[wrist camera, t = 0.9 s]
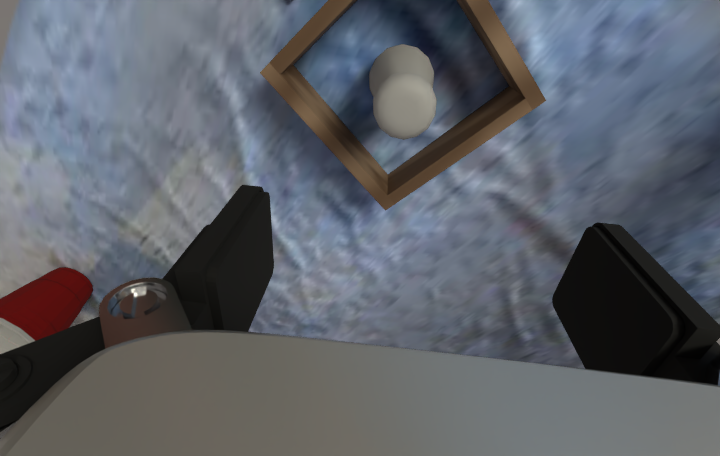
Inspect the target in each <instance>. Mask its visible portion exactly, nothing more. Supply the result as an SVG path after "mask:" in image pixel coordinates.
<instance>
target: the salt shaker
mask: <svg viewBox="0 0 720 456" xmlns="http://www.w3.org/2000/svg"><path fill="white" fill-rule="evenodd" d="M433 80H434V71H433V68H432V65H431V63H430V60H429V58H428V57H427V56H426V55H425V54H424V53H423V52H422V51H420V50H419V49H418V48H417V47H412V46H408V45H404V44H401V45H398V46H394V47H390V48H387V49H386V50H385V51H384V52H383V53H381V54H380V55H379V56H378V57H377V58H376V59H375V61H374V64H373V66H372V68H371V70H370V73H369V86H370V91H371V93H372V95H373V97H374V99H373V114H374V116H375V119H376V121H377V123H378V125H379V127H380V129H382V130H383V131H384V132H385V133H387V134H388V135H389V136H391V137H395V138H399V139H403V140H404V139H408V138H413V137H417V136H418V135H419V134H421V133H422V132H424V131H425V130H426V129H428V127H429V125H430V124H431V122H432V120H433V118H434V116H435V112H436V101H437V99H436V96H435V94H434V91H433V89H432V88H433Z"/></svg>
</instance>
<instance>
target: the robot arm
mask: <svg viewBox="0 0 720 456" xmlns="http://www.w3.org/2000/svg"><path fill="white" fill-rule="evenodd" d="M273 268H274V259H273V243H272V226H271V210H270V196H269V193H268V192H264V191H263V188H262V187H258V186H248V185H242V186H240V188H239V189H238V190H237V191H236V193H235V194H234V195H233V197H232V198H231V199H230V200H229V202H228V203H227V204H226V205H225V207H224V208H223V209H222V210H221V212H220V213H219V214H218V215H217V217H216V218H215V219H214V220H213V222H212V223H211V224H210V225H206V226H205V227H204V228H203V229H202V231H201V232H200V233H199V234H198V236H197V237H196V238H195V239H194V241H193V242H192V243H191V244H190V245H189V247H188V248H187V249H186V250H185V252H184V253H183V254H182V255H181V257H180V258H179V259H178V260H177V262H176V263H175V264H174V265H173V266H172V268H171V269H170V270H169V271H168V273H167V274H166V275H165V276H164V278H163V279H160V278H141V279H136V280H132V281H129V282H127V283H124V284H122V285H120V286H118V287H117V288H115V289H113V290H112V291H110V292H109V293H108V294H107V295H106V296H105V297H104V298H103V300H102V302H101V303H100V305H99V317H97V318H94V319H92V320H89V321H86V322H84V323H81V324H78V325H76V326H73V327H70V328H68V329H65V330H63V331H60V332H57V333H55V334H52V335H49V336H47V337H44V338H42V339H39V340H36V341H34V342H31V343H28V344H26V345H23V346H20V347H18V348H15V349H13V350H10V351H7V352H5V353H2V354H0V456H720V345H719V344H718V343H717V342H716V341H717V340H718V339H719V338H720V325H719V324H718V323H717V322H716V321H715V320H714V319H713V318H712V317H711V316H710V315H709V314H708V313H707V312H706V311H705V310H704V309H703V308H702V307H701V306H700V305H699V304H698V303H697V302H696V301H695V300H694V299H693V298H692V297H691V296H690V295H689V294H688V293H687V292H686V291H685V290H684V289H683V288H682V287H681V286H680V285H679V284H678V283H677V282H676V281H675V280H674V279H673V278H672V277H671V276H670V275H669V274H668V273H667V272H666V271H665V270H664V269H663V268H662V267H661V266H660V265H659V264H658V263H657V261H656V260H655V259H654V258H653V257H652V256H651V255H650V254H649V253H648V252H647V251H646V250H645V249H644V248H643V247H642V246H641V245H640V244H639V243H638V242H637V241H636V240H635V239H634V238H633V237H632V236H631V235H630V234H629V233H628V232H627V231H626V230H625V229H624V228H623V227H622V226H620V225H616V224H607V223H595V224H594V225H593V226H592V227H588V228H587V229H586V230H585V232H584V234H583V236H582V238H581V240H580V242H579V244H578V246H577V248H576V250H575V252H574V254H573V256H572V258H571V260H570V262H569V264H568V266H567V268H566V270H565V272H564V274H563V276H562V278H561V280H560V282H559V284H558V286H557V288H556V290H555V292H554V295H553V299H552V303H553V307H554V309H555V311H556V313H557V315H558V317H559V319H560V320H561V322H562V324H563V326H564V328H565V330H566V332H567V334H568V336H569V338H570V340H571V342H572V344H573V346H574V348H575V350H576V351H577V353H578V355H579V357H580V359H581V361H582V363H583V365H584V367H585V369H583V368H574V367H566V366H557V365H548V364H540V363H531V362H522V361H514V360H505V359H496V358H487V357H479V356H470V355H461V354H452V353H443V352H435V351H426V350H417V349H408V348H399V347H390V346H381V345H372V344H362V343H353V342H344V341H335V340H326V339H317V338H307V337H298V336H289V335H280V334H269V333H256V332H248V330H249V328H250V325H251V323H252V321H253V318H254V316H255V314H256V311H257V309H258V307H259V305H260V302H261V300H262V298H263V295H264V293H265V291H266V288H267V286H268V284H269V281H270V279H271V277H272V274H273Z"/></svg>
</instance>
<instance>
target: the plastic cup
mask: <svg viewBox="0 0 720 456" xmlns="http://www.w3.org/2000/svg"><path fill="white" fill-rule="evenodd" d="M92 291H93V288H92V284H91V283H90V281H89V279H88V278H86V277H85V276H84V275H83V274H82V273H80V272H78V271H76V270H74V269H70V268H58V269H55V270H53V271H51V272H49V273H47V274H45V275H44V276H42V277H40V278H38V279H36V280H34V281H32V282H30V283H28V284H26V285H25V286H23V287H21V288H19V289H17V290H16V291H14V292H12V293H10V294H8V295H7V296H5V297H3V298H1V299H0V354H2V353H5V352H7V351H10V350H13V349H15V348H18V347H20V346H23V345H26V344H28V343H31V342H34V341H36V340H39V339H42V338H44V337H47V336H49V335H52V334H55V333H57V332H60V331H63V330H65V329H68V328H69V327H70V325H71V324H72V323H73V321H74V320H75V318H76V317H77V315H78V314H79V312H80V311H81V309H82V307H83V306H84V304H85V303H86V301H87V300H88V299H89V297H90V296H91V293H92Z"/></svg>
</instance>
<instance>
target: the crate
mask: <svg viewBox="0 0 720 456" xmlns="http://www.w3.org/2000/svg"><path fill="white" fill-rule="evenodd" d="M356 1H357V0H328V1H327V2H326V3H325V4H324V6H323V7H322V8H321V9H320V10H319V11H318V12H317V13H316V14H315V15H314V16H313V17H312V18H311V19H310V20H309V21H308V22H307V23H306V25H305V26H304V27H303V28H302V29H301V30H300V31H299V32H298V33H297V34H296V35H295V36H294V37H293V38H292V39H291V40H290V41H289V42H288V44H287V45H286V46H285V47H284V48H283V49H282V50H281V51H280V52H279V53H278V54H277V55H276V56H275V57H274V58H273V59H272V60H271V62H270V63H269V64H268V65H267V66H266V67H265V68H264V69H263V70H262V71H261V72H260V73H261V74H262V75H263V77H264V78H265V79H266V80H267V81H268V82H269V83H270V84H271V85H272V86H273V88H274V89H275V90H276V91H277V92H278V93H279V94H280V95H281V96H282V97H283V99H284V100H285V101H286V102H287V103H288V104H289V105H290V106H291V107H292V108H293V110H294V111H295V112H296V113H297V114H298V115H299V116H300V117H301V118H302V119H303V121H304V122H305V123H306V124H307V125H308V126H309V127H310V128H311V129H312V130H313V131H314V133H315V134H316V135H317V136H318V137H319V138H320V139H321V140H322V141H323V142H324V144H325V145H326V146H327V147H328V148H329V149H330V150H331V151H332V152H333V153H334V155H335V156H336V157H337V158H338V159H339V160H340V161H341V162H342V163H343V164H344V166H345V167H346V168H347V169H348V170H349V171H350V172H351V173H352V174H353V175H354V177H355V178H356V179H357V180H358V181H359V182H360V183H361V184H362V185H363V186H364V188H365V189H366V190H367V191H368V192H369V193H370V194H371V195H372V196H373V197H374V199H375V200H376V201H377V202H378V203H379V204H380V205H381V206H382V207H383V208H384V210H387V209H388V208H390V207H391V206H393V205H394V204H396V203H397V202H399V201H400V200H401V199H403V198H404V197H406V196H407V195H409V194H410V193H412V192H413V191H415V190H416V189H418V188H419V187H420V186H422V185H423V184H425V183H426V182H428V181H429V180H431V179H432V178H434V177H435V176H437V175H438V174H439V173H441V172H442V171H444V170H445V169H447V168H448V167H450V166H451V165H453V164H454V163H456V162H457V161H458V160H460V159H461V158H463V157H464V156H466V155H467V154H469V153H470V152H472V151H473V150H475V149H476V148H477V147H479V146H480V145H482V144H483V143H485V142H486V141H488V140H489V139H491V138H492V137H494V136H495V135H496V134H498V133H499V132H501V131H502V130H504V129H505V128H507V127H508V126H510V125H511V124H513V123H514V122H515V121H517V120H518V119H520V118H521V117H523V116H524V115H526V114H527V113H529V112H530V111H532V110H533V109H535V108H536V107H537V106H539V105H540V104H542V103H543V102H545V101H546V100H545V98H544V96H543V94H542V93H541V91H540V89H539V87H538V86H537V84H536V82H535V81H534V79H533V77H532V75H531V74H530V72H529V70H528V68H527V67H526V65H525V63H524V62H523V60H522V58H521V56H520V55H519V53H518V51H517V50H516V48H515V46H514V44H513V43H512V41H511V39H510V37H509V36H508V34H507V32H506V31H505V29H504V27H503V25H502V24H501V22H500V20H499V19H498V17H497V15H496V13H495V12H494V10H493V8H492V6H491V5H490V3H489V1H488V0H457V2H458V3H459V5H460V7H461V8H462V10H463V11H464V13H465V15H466V16H467V18H468V20H469V21H470V23H471V24H472V26H473V28H474V29H475V31H476V33H477V34H478V36H479V37H480V39H481V41H482V42H483V44H484V46H485V47H486V49H487V50H488V52H489V54H490V55H491V57H492V59H493V60H494V62H495V63H496V65H497V67H498V68H499V70H500V72H501V73H502V75H503V76H504V78H505V80H506V81H507V83H508V85H509V87H507V88H506V89H505V90H503V91H502V92H500V93H499V94H498V95H496V96H495V97H494V98H492V99H491V100H490V101H488V102H487V103H485V104H484V105H483V106H481V107H480V108H479V109H477V110H476V111H474V112H473V113H472V114H470V115H469V116H468V117H466V118H465V119H464V120H462V121H461V122H459V123H458V124H457V125H455V126H454V127H453V128H451V129H450V130H448V131H447V132H446V133H444V134H443V135H442V136H440V137H439V138H438V139H436V140H435V141H433V142H432V143H431V144H429V145H428V146H427V147H425V148H424V149H422V150H421V151H420V152H418V153H417V154H416V155H414V156H413V157H412V158H410V159H409V160H407V161H406V162H405V163H403V164H402V165H401V166H399V167H398V168H396V169H395V170H394V171H392V172H391V173H390V174H387V173H386V172H385V171H384V170H383V169H382V167H381V166H380V165H379V164H378V163H377V162H376V160H375V159H374V158H373V157H372V156H371V155H370V153H369V152H368V151H367V150H366V149H365V148H364V147H363V145H362V144H361V143H360V142H359V141H358V140H357V138H356V137H355V136H354V135H353V134H352V133H351V131H350V130H349V129H348V128H347V127H346V126H345V124H344V123H343V122H342V121H341V120H340V119H339V118H338V116H337V115H336V114H335V113H334V112H333V111H332V109H331V108H330V107H329V106H328V105H327V104H326V102H325V101H324V100H323V99H322V98H321V97H320V95H319V94H318V93H317V92H316V91H315V90H314V88H313V87H312V86H311V85H310V84H309V83H308V82H307V80H306V79H305V78H304V77H303V76H302V75H301V73H300V72H299V71H298V70H297V69H296V68H295V66H294V64H295V63H296V62H297V61H298V60H299V59H300V58H301V57H302V56H303V55H304V54H305V53H306V52H307V51H308V50H309V49H310V48H311V47H312V46H313V45H314V44H315V43H316V42H317V41H318V40H319V39H320V37H321V36H322V35H323V34H324V33H325V32H326V31H327V30H328V29H329V28H330V27H331V26H332V25H333V24H334V23H335V22H336V21H337V20H338V19H339V18H340V17H341V16H342V15H343V14H344V13H345V12H346V11H347V10H348V9H349V8H350V7H351V6H352V5H353V4H354V3H355V2H356Z"/></svg>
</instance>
